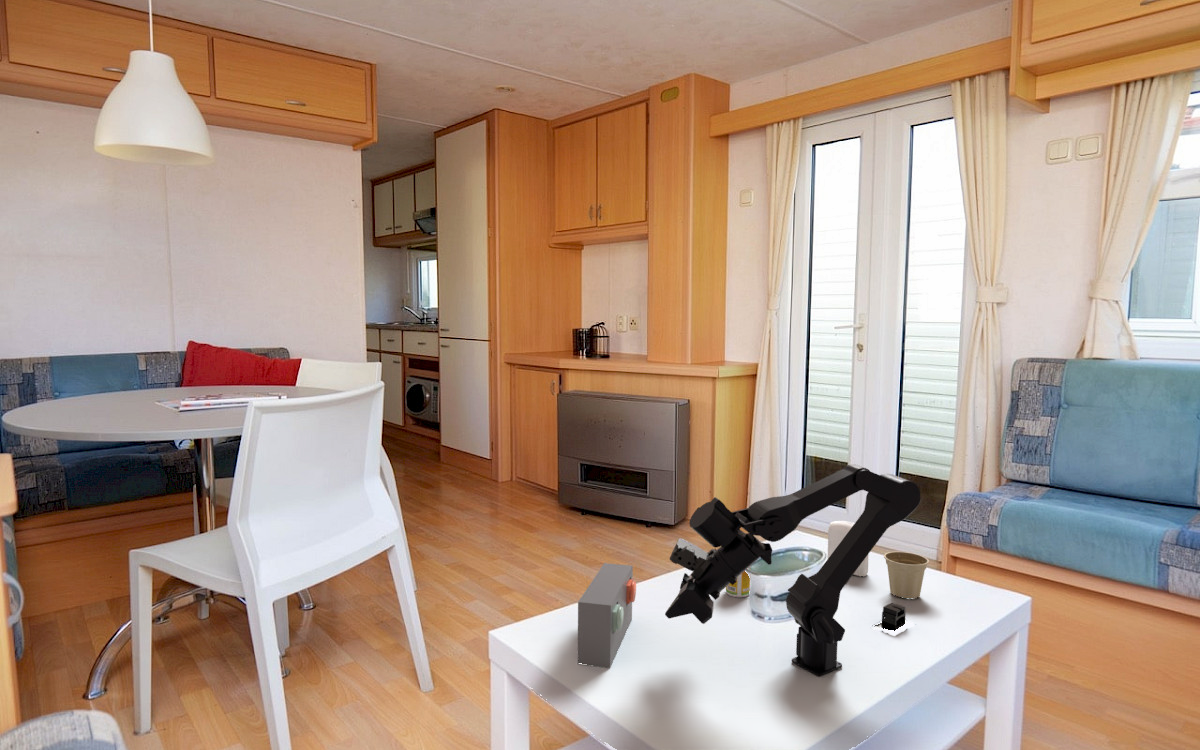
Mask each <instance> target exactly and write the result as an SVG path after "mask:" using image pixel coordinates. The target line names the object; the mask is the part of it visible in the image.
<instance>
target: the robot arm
mask: <svg viewBox="0 0 1200 750" xmlns="http://www.w3.org/2000/svg"><path fill="white" fill-rule="evenodd" d="M861 491H864V492H867V493H866V497H865V503H864V504H865V505H864V509H863V512H862V513H861V514H860V515H859V517H858V518H857V519H856V521H855V524H854V525H853V526H852V528H851V529H850V530H849V532H848V533H847V534H846V536H845V537H844V538H843V540H842V541H841V542H840V544H839V545H838V546H837V548H836V549H835V550H834V552H833V553H832V554H831V556H830V557H829V558H828V557H827V559H826V561H825V562H824V563H823V564H822V566H821V567H820V569H819V570H818V571H817V572H816V573H815V574H812V575H810V576H806V575H805V574H804V573H801V574H799V575H798V577H797V579H796V581H795V582H794V583H793V585H792V586H790V587H789V588H788V589H787V591H788V594H787V595H786V599H785V604H786V605H785V606H786V609H787V612H788V613H789V614H790V615H791V616H792V617H793V619H794V622H795V624H797V625H799V627H798V632H797V634H796V649H795V655H796V657H792V658H791V662H792V663H793V664H795V665H796V666H799V667H801V668H803V669H805V670H807V671H809V672H810V673H813V674H814V675H816V676H818V677H821V676H824V675H826V674H829V673H831V672H833V671H836V670H838V669H841V668H843V664H842V662H839V661H838V642H841V641H843V638H844V635H845V632H846V629H845V627H843V626H842V625H841V624H840V623H839V622H838V621H837V620H836V619H835V618H834V617H835V614H837V611H838V609H839V603H840V596H841V591H842V590H843V588H844V587H845V586H846V584H847V583H848V582H849V581H850V579H852V577H853V575H854V573H855V571H856V570H857V569H858V567H859V566H860V565H861V563H862V562H863V561H864V559H865V558H866V557H867V555H868V556H869V554H870V553H871V551H873V548H874V547H875V546H876V545H877V543H878V542H879V541H880V539H881V538H882V536H883V535H884V534H885V533H886V531H887V530H888V529H889V528H890V527H892V526H894V525H896V524H898V523H900V522H902V521H904V520H906V519H907V518H908V517H909V516H910V515H911V514H912V513H913V512H914V511H915V510H916V509H917V508H918V507H919V505H920V503H921V501H922V497H921V490H920V487H919V486H918V485H917V484H916V483H915V482H913V481H912V480H908V479H905V478H903V477H900V476H898V475H894V474H893V473H892V474H891V473H883V474H878V473H875V472H873V471H870V469H868V468H866V467H864V466H861V465H858V464H855V463H851V464H847V465H845V466H844V467H843V468H842V469H840V470H838V471H836V472H834V473H832V474H829V475H827V476H825V477H824V478H821V479H820V480H817V481H815V482H813V483H811V484H809V485H807V486H805V487H803V488H801V489H799V490H797V491H794V492H793V493H790V494H786V495H781V496H780V495H779V496H773V497H768V498H765V499H762V500H758V501H755V502H753V503H751V505H749V506H748V507H747V508H743V509H739V510H734V511H731V510H729V508H727V507H726V504H725V503H724V502H723V501H721V500H720V499H719V498H717V497H713V498H712V500H711V501H708V502H706V503H704V504H702V505H701V506H700V507H697V508H696V509H695V511H694V512H693V513H692V515H691V517H690V519H689V524H688V525H689V526H690V528H691V529H692V530H693V531H694V532H695V533H697V534H698V535H699V536H700V537H702V538H703V539H704V540H705V541H706V542H707V543H708V544H709V545H711V547H713V548H714V549H713V548H711V549H710V550H709V551H708V552H707V551H705V550H703V548H701V547H699V546H697V545H696V544H694V543H692V542H690V541H687V540H686V539H683V538H680V537H679V538H678V540H677V541H676V544H675V546H674V547H673V549H672V551H671V555H670V556H669V561H670V562H672V563H673V564H674V565H679V566H681V567H683V568H685V569H686V570H688V571H690V572H691V573H690V574H689V575H688V573H687V572H686V573H684V574H683V577H682V580H681V583H680V587H679V592H678V594H677V596H676V597H675V599H674V600H673V601H672V602H671V603H670V606H669V607H668V608H667V610H666V611H665V617H666V618H667V619H670V620H671V619H673V618H677V617H682V616H687V615H690V614H692V615H694V617H695V618H696V619H697V620H698V621H699V622H700V623H701V624H703V625H705V624H706V623H707V622H708V621H710V620H711V619H712V617H713V613H714V605H715V604H714V601H716V600H717V599H718V598H720V596H721V592H722V591H723V590H724V589H726V587H727V586H728V585H729V584H730V583H731V584H732V585H733V584H734V583H736V582H737V577H738V576H739V575H740V574H742V573H743V572H744V571H745V570H746V569H747V568H749V567H750V568H751V566H752V565H753V564H755V563H756V562H757V561H758V560H759V559H761V560H762V561H763V562H765V563H766V564H767V566H768V565H769V566H771V565H772V553H773V548H772V545H771V544H770V543H766V542H765V543H764V542H761V541H760V540H759V539H758V538H757V537H759V536H760V537H761V538H762V539H764V540H765V541H768V542H771V543H776V542H779V541H781V540H783V539H784V538H785V537H787V536H788V535H790V534H791V533H792V532H794V531H795V530H797V527H798V526H799V525H800V523H801V522H802V521H803V520H805V519H807V517H809V516H812V515H814V514H815V513H817V512H820V511H822V510H824V509H826V508H827V507H830V506H832V505H834V504H835V503H838V502H840V501H842V500H844V499H846V498H848V497H850V496H852V495H854V494H856V493H858V492H861ZM741 529H743V530H744V531H746V532H744V531H743V530H741ZM756 536H757V537H756ZM711 597H712V598H713V599H714V600H713V599H711Z"/></svg>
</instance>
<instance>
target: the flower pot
mask: <svg viewBox="0 0 1200 750" xmlns="http://www.w3.org/2000/svg"><path fill="white" fill-rule="evenodd" d="M883 558H884V559H885V563H886V566H887V572H888V573H887V574H888V583H889V590H890V592H891V593H892V594H893V595H896V596H895V597H899V598H900V597H903V598H916V599H917V597H918V598H920V597H921V592H922V586H923V580H924V577H925V576H924V575H925V570H927V565H928V564H929V563H930V560H929V558H927V557H925V556H923V555H920V554H918V553H914V552H907V551H889V552H886V553H884V555H883ZM891 593H890V594H891ZM892 594H891V595H892ZM893 595H892V596H893ZM919 596H920V597H919Z"/></svg>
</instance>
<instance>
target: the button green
mask: <svg viewBox="0 0 1200 750" xmlns="http://www.w3.org/2000/svg"><path fill="white" fill-rule="evenodd" d="M623 616H624V611H623V607H620V604H616V605H615V607H614V609H613V631H615V632H616V631H617V630H621V628H622V624H623Z"/></svg>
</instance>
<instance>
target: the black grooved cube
mask: <svg viewBox="0 0 1200 750" xmlns="http://www.w3.org/2000/svg"><path fill="white" fill-rule="evenodd" d="M906 612H907V611H906V606H904V605H900V604H897V603H896V602H895V603H894V602H890V603H888V604H886V605H884V606H883V607H882V612H881V621H882V623H880V624H878V625H875V624H874V625H875V626H874V627H876V628H877V627H878V628H880V627H881V628H883V629H884V628H885V629H888V630H894V631H895V630H896V629H898V628H899V627H901V626H903V625H904V624H905V620H906V617H907V616H906V615H907V613H906Z"/></svg>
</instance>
